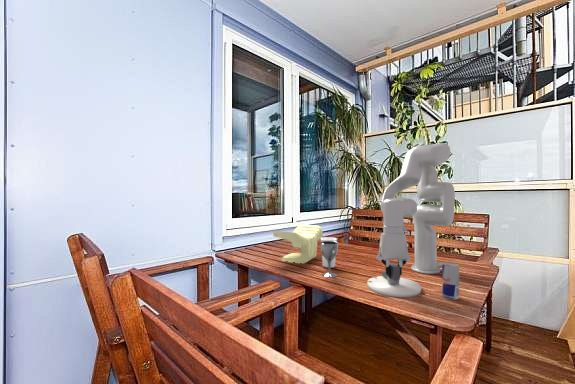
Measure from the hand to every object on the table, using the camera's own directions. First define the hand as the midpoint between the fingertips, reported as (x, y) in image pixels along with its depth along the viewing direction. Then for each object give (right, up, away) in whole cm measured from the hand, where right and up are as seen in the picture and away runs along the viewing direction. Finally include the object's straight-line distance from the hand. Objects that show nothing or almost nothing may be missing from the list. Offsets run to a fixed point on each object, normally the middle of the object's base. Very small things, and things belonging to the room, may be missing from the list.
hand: (393, 275), depth 111 cm
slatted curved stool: (-35, -5, +45) cm, 58 cm away
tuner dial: (0, -5, 0) cm, 5 cm away
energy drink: (+17, -5, -10) cm, 20 cm away
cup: (-21, -5, +31) cm, 38 cm away
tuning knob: (0, -3, +3) cm, 4 cm away
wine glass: (-23, -5, +17) cm, 29 cm away
